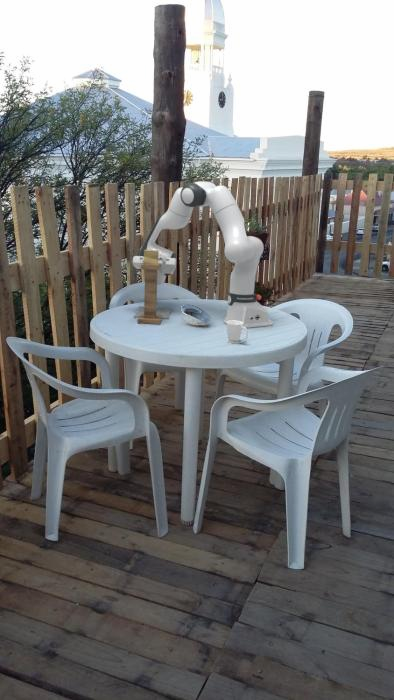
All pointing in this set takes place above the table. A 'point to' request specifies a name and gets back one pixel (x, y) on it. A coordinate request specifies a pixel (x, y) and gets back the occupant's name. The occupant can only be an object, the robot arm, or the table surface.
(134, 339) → the table surface
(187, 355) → the table surface
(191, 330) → the table surface
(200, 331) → the table surface
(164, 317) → the rubber mat
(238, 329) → the cup
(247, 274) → the robot arm
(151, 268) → the walnut stand
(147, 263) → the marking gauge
